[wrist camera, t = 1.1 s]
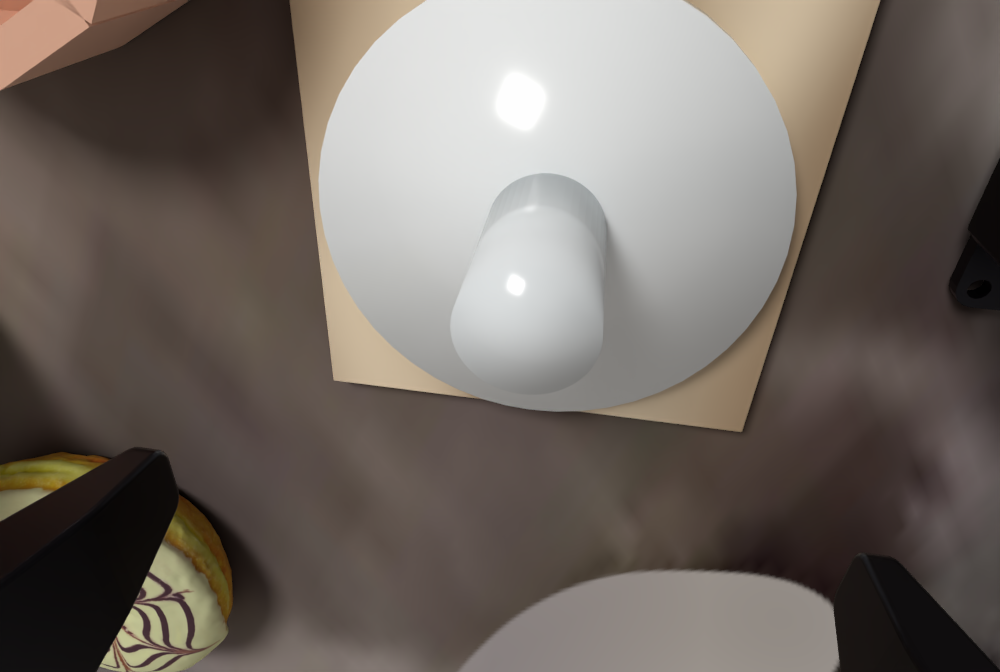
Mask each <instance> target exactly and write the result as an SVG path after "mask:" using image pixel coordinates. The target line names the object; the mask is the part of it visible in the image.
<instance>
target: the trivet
mask: <svg viewBox="0 0 1000 672" xmlns="http://www.w3.org/2000/svg"><path fill="white" fill-rule="evenodd" d="M289 1H290V9H291V18H292V26H293V35H294V44H295V52H296V61H297V69H298V78H299V86H300V95H301V104H302V112H303V121H304V129H305V138H306V146H307V155H308V164H309V172H310V181H311V189H312V198H313V206H314V215H315V223H316V232H317V241H318V249H319V258H320V266H321V275H322V283H323V292H324V301H325V309H326V318H327V326H328V335H329V343H330V352H331V361H332V369H333V378H334V380H336V381H344V382H351V383H359V384H367V385H375V386H383V387H391V388H399V389H407V390H414V391H422V392H430V393H438V394H446V395H454V396H462V397H470V398H477V399H481V398H479V397H476V396H473V395H471V394H468V393H466V392H463V391H461V390H458V389H456V388H454V387H452V386H450V385H448V384H446V383H444V382H442V381H440V380H438V379H436V378H434V377H433V376H431V375H430V374H428V373H427V372H425V371H424V370H422V369H421V368H419V367H418V366H416V365H414V364H413V363H412V362H410V361H409V360H408V359H407V358H405V357H404V356H403V355H402V354H401V353H399V352H398V351H397V350H396V349H394V348H393V347H392V346H391V345H390V344H389V343H388V342H387V341H386V340H385V339H384V338H383V337H382V336H381V335H380V334H379V333H378V332H377V331H376V330H375V329H374V328H373V326H372V325H371V324H370V322H369V321H368V320H367V319H366V317H365V316H364V315H363V314H362V312H361V311H360V310H359V309H358V307H357V305H356V304H355V302H354V301H353V299H352V297H351V296H350V294H349V292H348V291H347V289H346V288H345V286H344V284H343V282H342V280H341V278H340V275H339V273H338V271H337V269H336V267H335V265H334V262H333V260H332V257H331V254H330V250H329V247H328V244H327V241H326V238H325V234H324V229H323V223H322V218H321V212H320V203H319V181H318V179H319V168H320V157H321V149H322V145H323V141H324V137H325V133H326V128H327V124H328V121H329V118H330V116H331V113H332V111H333V108H334V106H335V103H336V101H337V98H338V96H339V94H340V92H341V90H342V88H343V87H344V85H345V83H346V81H347V80H348V78H349V76H350V74H351V73H352V71H353V69H354V67H355V66H356V65H357V64H358V62H359V61H360V60H361V59H362V57H363V56H364V55H365V54H366V52H367V51H368V50H369V49H370V47H371V46H372V45H373V43H374V42H375V41H376V40H377V39H378V38H379V37H381V36H382V35H383V34H384V33H385V32H386V31H387V30H388V29H389V28H390V27H391V26H392V25H393V24H394V23H396V22H397V21H398V20H399V19H400V18H401V17H403V16H404V15H406V14H407V13H408V12H410V11H411V10H413V9H414V8H416V7H417V6H419V5H420V4H422V3H423V2H424V1H426V0H289ZM687 1H689V2H690V3H692V4H693V5H695V6H696V7H698V8H699V9H701V10H702V11H704V12H705V13H706V14H707V15H708V16H709V17H711V18H712V19H713V20H714V21H715V22H716V23H717V24H718V25H719V26H721V27H722V28H723V29H724V30H725V31H726V32H727V33H728V34H729V35H730V36H731V37H732V38H733V39H734V41H735V42H736V43H737V44H738V45H739V47H740V48H741V49H742V50H743V52H744V53H745V54H746V55H747V57H748V58H749V59H750V60H751V61H752V63H753V64H754V66H755V67H756V69H757V70H758V72H759V74H760V76H761V77H762V79H763V81H764V82H765V84H766V86H767V87H768V89H769V91H770V93H771V94H772V96H773V98H774V99H775V101H776V104H777V107H778V109H779V112H780V114H781V117H782V119H783V122H784V124H785V127H786V129H787V132H788V136H789V141H790V145H791V150H792V154H793V159H794V163H795V177H796V191H797V198H796V210H795V223H794V229H793V233H792V237H791V242H790V246H789V250H788V255H787V257H786V260H785V262H784V265H783V268H782V270H781V273H780V275H779V278H778V280H777V283H776V284H775V286H774V288H773V290H772V292H771V293H770V295H769V297H768V299H767V301H766V302H765V304H764V306H763V308H762V309H761V310H760V312H759V313H758V314H757V316H756V317H755V318H754V320H753V321H752V322H751V324H750V325H749V326H748V328H747V329H746V330H745V331H744V332H743V333H742V334H741V335H740V336H739V337H738V338H737V339H736V341H735V342H734V343H733V344H732V345H731V346H730V347H729V348H728V349H727V350H726V351H724V352H723V353H722V354H721V355H719V356H718V357H717V358H716V359H714V360H713V361H712V362H711V363H710V364H708V365H707V366H706V367H704V368H703V369H701V370H699V371H698V372H696V373H695V374H693V375H692V376H690V377H688V378H687V379H685V380H684V381H682V382H680V383H678V384H676V385H674V386H671V387H669V388H667V389H665V390H663V391H661V392H659V393H656V394H653V395H651V396H648V397H645V398H642V399H639V400H637V401H634V402H629V403H625V404H621V405H617V406H613V407H608V408H601V409H593V410H585V411H580V412H588V413H596V414H604V415H611V416H619V417H627V418H635V419H643V420H651V421H659V422H667V423H674V424H682V425H690V426H698V427H706V428H714V429H722V430H730V431H737V432H742V430H743V427H744V424H745V420H746V417H747V414H748V411H749V408H750V405H751V402H752V399H753V396H754V392H755V389H756V386H757V383H758V380H759V377H760V374H761V371H762V368H763V364H764V361H765V358H766V355H767V352H768V349H769V346H770V343H771V339H772V336H773V333H774V330H775V327H776V324H777V321H778V318H779V315H780V311H781V308H782V305H783V302H784V299H785V296H786V293H787V290H788V287H789V283H790V280H791V277H792V274H793V271H794V268H795V265H796V262H797V258H798V255H799V252H800V249H801V246H802V243H803V240H804V237H805V234H806V230H807V227H808V224H809V221H810V218H811V215H812V212H813V209H814V205H815V202H816V199H817V196H818V193H819V190H820V187H821V184H822V181H823V177H824V174H825V171H826V168H827V165H828V162H829V159H830V156H831V153H832V149H833V146H834V143H835V140H836V137H837V134H838V131H839V128H840V124H841V121H842V118H843V115H844V112H845V109H846V106H847V103H848V100H849V96H850V93H851V90H852V87H853V84H854V81H855V78H856V75H857V71H858V68H859V65H860V62H861V59H862V56H863V53H864V50H865V47H866V43H867V40H868V37H869V34H870V31H871V28H872V25H873V22H874V19H875V15H876V12H877V9H878V6H879V3H880V0H687Z"/></svg>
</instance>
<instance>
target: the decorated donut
mask: <svg viewBox="0 0 1000 672" xmlns="http://www.w3.org/2000/svg"><path fill="white" fill-rule="evenodd" d="M108 460H110V459H108V458H105V457H101V456H97V455H89V456H84V455H79V454H78V455H77V454H70V453H67V452H59V453H52V454H49V455H46V456H42V457H37V458H31V459H26V460H20V461H16V462H9V463H6V464H3V465H0V521H2V520H3V519H5V518H7V517H9V516H11V515H12V514H14V513H16V512H18V511H19V510H21V509H23V508H25V507H27V506H28V505H30V504H32V503H34V502H35V501H37V500H39V499H41V498H43V497H44V496H46V495H48V494H50V493H51V492H53V491H55V490H57V489H59V488H60V487H62V486H64V485H66V484H67V483H69V482H71V481H73V480H75V479H76V478H78V477H80V476H82V475H83V474H85V473H87V472H89V471H91V470H92V469H94V468H96V467H98V466H100V465H101V464H103V463H105V462H107V461H108ZM231 572H232V571H231V568H230V565H229V562H228V559H227V555H226V553H225V551H224V549H223V547H222V544H221V540H220V537H219V536H218V535H217V533H216V532H215V530H214V529H213V527H212V525H211V523H210V522H209V521H208V520H207V518H206V517H205V515H203V514H202V513H201V512H200V511H199V510H198V509H197V508H196V507H195V506H194V505H192V504H191V502H189V501H188V500H186V499H185V498H184V497H182V496H180V495H179V503H178V507H177V510H176V512H175V514H174V517H173V519H172V521H171V523H170V526H169V528H168V530H167V532H166V535H165V537H164V539H163V541H162V544H161V546H160V548H159V550H158V552H157V555H156V557H155V559H154V561H153V564H152V566H151V568H150V570H149V573H148V575H147V577H146V579H145V581H144V584H143V586H142V588H141V590H140V593H139V595H138V597H137V599H136V601H135V603H134V605H133V607H132V609H131V611H130V613H129V615H128V617H127V619H126V621H125V623H124V624H123V626H122V628H121V630H120V632H119V633H118V635H117V637H116V639H115V640H114V642H113V644H112V645H111V647H110V649H109V651H108V652H107V654H106V656H105V658H104V659H103V661H102V663H101V665H100V666H99V667H103V668H107V669H110V670H114V671H120V672H178V671H182V670H185V669H187V668H190V667H192V666H193V665H194V664H196V663H197V662H199V661H200V660H201V659H203V658H204V657H205V656H207V655H208V654H209V653H210V652H211V651H212V650H213V649H214V648H216V647H217V646H218V645H219V644H220V643H221V642H222V641H223V640H224V639H225V637H226V636H227V634H228V631H229V629H228V627H227V619H228V617H229V615H230V612H231V609H232V605H233V593H232V592H233V588H232V576H231Z"/></svg>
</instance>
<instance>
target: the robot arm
mask: <svg viewBox="0 0 1000 672" xmlns="http://www.w3.org/2000/svg"><path fill="white" fill-rule="evenodd" d="M968 230H969V232H970V233H971V236H970V238H969V240H968V242H967V245H966V247H965V249H964V251H963V253H962V255H961V257H960V259H959V262H958V264H957V266H956V268H955V270H954V272H953V274H952V277H951V279H950V283H949V288H950V291H951V293H952V294H953V296H954V297H955V298H956V299H957V301H958V302H960V303H961V304H962V305H964V306H967V307H972V308H981V309H990V310H1000V159H999V161H998V163H997V165H996V168H995V170H994V172H993V174H992V176H991V178H990V181H989V183H988V185H987V187H986V189H985V191H984V194H983V196H982V198H981V200H980V202H979V204H978V206H977V209H976V211H975V213H974V215H973V217H972V219H971V222H970V224H969V226H968ZM977 280H984V282H983V284H982V285H981V286H980V287H978V288H976V289H974V290H967V289H968V287H969V286H970V285H971V284H972V283H974V282H976V281H977ZM178 503H179V491H178V487H177V484H176V481H175V478H174V474H173V471H172V468H171V465H170V462H169V458H168V456H167V455H166V454H165V453H164V452H163V451H161V450H156V449H149V448H142V447H134V448H131V449H128V450H126V451H124V452H123V453H121V454H119V455H117V456H116V457H114V458H112V459H110V460H108V461H107V462H105V463H103V464H101V465H100V466H98V467H96V468H94V469H92V470H91V471H89V472H87V473H85V474H83V475H82V476H80V477H78V478H76V479H75V480H73V481H71V482H69V483H67V484H66V485H64V486H62V487H60V488H59V489H57V490H55V491H53V492H51V493H50V494H48V495H46V496H44V497H43V498H41V499H39V500H37V501H35V502H34V503H32V504H30V505H28V506H27V507H25V508H23V509H21V510H19V511H18V512H16V513H14V514H12V515H11V516H9V517H7V518H5V519H3V520H2V521H0V672H97V670H98V668H99V666H100V665H101V663H102V661H103V659H104V658H105V656H106V654H107V652H108V651H109V649H110V647H111V645H112V644H113V642H114V640H115V639H116V637H117V635H118V633H119V632H120V630H121V628H122V626H123V624H124V623H125V621H126V619H127V617H128V615H129V613H130V611H131V609H132V607H133V605H134V603H135V601H136V599H137V597H138V595H139V593H140V590H141V588H142V586H143V584H144V581H145V579H146V577H147V575H148V573H149V570H150V568H151V566H152V564H153V561H154V559H155V557H156V555H157V552H158V550H159V548H160V546H161V544H162V541H163V539H164V537H165V535H166V532H167V530H168V528H169V526H170V523H171V521H172V519H173V517H174V514H175V512H176V510H177V507H178ZM834 617H835V626H836V634H837V643H838V652H839V660H840V669H841V672H1000V669H999V668H998V667H997V666H996V665H995V664H994V663H993V662H992V661H991V660H990V659H989V658H988V657H987V655H986V654H985V653H984V652H983V651H982V650H981V649H980V648H979V647H978V646H977V645H976V644H975V643H974V642H973V640H972V639H971V638H970V637H969V636H968V635H967V634H966V633H965V632H964V631H963V630H962V629H961V628H960V627H959V625H958V624H957V623H956V622H955V621H954V620H953V619H952V618H951V617H950V616H949V615H948V614H947V613H946V611H945V610H944V609H943V608H942V607H941V606H940V605H939V604H938V603H937V602H936V601H935V600H934V599H933V598H932V596H931V595H930V594H929V593H928V592H927V591H926V590H925V589H924V588H923V587H922V586H921V585H920V584H919V582H918V581H917V580H916V579H915V578H914V577H913V576H912V575H911V574H910V573H909V572H908V571H907V570H906V569H905V567H904V566H903V565H902V564H901V563H900V562H899V561H897V560H896V559H894V558H892V557H890V556H884V555H877V554H870V553H859V554H857V555H856V556H855V557H854V558H853V560H852V562H851V563H850V565H849V567H848V569H847V571H846V573H845V575H844V577H843V579H842V581H841V583H840V585H839V587H838V589H837V591H836V594H835V598H834Z"/></svg>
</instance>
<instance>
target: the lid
mask: <svg viewBox="0 0 1000 672" xmlns="http://www.w3.org/2000/svg"><path fill="white" fill-rule="evenodd" d="M318 181H319V203H320V212H321V218H322V223H323V229H324V234H325V238H326V241H327V244H328V247H329V250H330V254H331V257H332V260H333V262H334V265H335V267H336V269H337V271H338V273H339V275H340V278H341V280H342V282H343V284H344V286H345V288H346V289H347V291H348V292H349V294H350V296H351V297H352V299H353V301H354V302H355V304H356V305H357V307H358V309H359V310H360V311H361V312H362V314H363V315H364V316H365V317H366V319H367V320H368V321H369V322H370V324H371V325H372V326H373V328H374V329H375V330H376V331H377V332H378V333H379V334H380V335H381V336H382V337H383V338H384V339H385V340H386V341H387V342H388V343H389V344H390V345H391V346H392V347H393V348H394V349H396V350H397V351H398V352H399V353H401V354H402V355H403V356H404V357H405V358H407V359H408V360H409V361H410V362H412V363H413V364H414V365H416V366H418V367H419V368H421V369H422V370H424V371H425V372H427V373H428V374H430V375H431V376H433V377H434V378H436V379H438V380H440V381H442V382H444V383H446V384H448V385H450V386H452V387H454V388H456V389H458V390H461V391H463V392H466V393H468V394H471V395H473V396H476V397H479V398H481V399H485V400H488V401H492V402H496V403H499V404H503V405H507V406H512V407H518V408H524V409H530V410H542V411H555V412H560V411H585V410H593V409H601V408H608V407H613V406H617V405H621V404H625V403H629V402H634V401H637V400H639V399H642V398H645V397H648V396H651V395H653V394H656V393H659V392H661V391H663V390H665V389H667V388H669V387H671V386H674V385H676V384H678V383H680V382H682V381H684V380H685V379H687V378H688V377H690V376H692V375H693V374H695V373H696V372H698V371H699V370H701V369H703V368H704V367H706V366H707V365H708V364H710V363H711V362H712V361H713V360H714V359H716V358H717V357H718V356H719V355H721V354H722V353H723V352H724V351H726V350H727V349H728V348H729V347H730V346H731V345H732V344H733V343H734V342H735V341H736V339H737V338H738V337H739V336H740V335H741V334H742V333H743V332H744V331H745V330H746V329H747V328H748V326H749V325H750V324H751V322H752V321H753V320H754V318H755V317H756V316H757V314H758V313H759V312H760V310H761V309H762V308H763V306H764V304H765V302H766V301H767V299H768V297H769V295H770V293H771V292H772V290H773V288H774V286H775V284H776V283H777V280H778V278H779V275H780V273H781V270H782V268H783V265H784V262H785V260H786V257H787V255H788V250H789V246H790V242H791V237H792V233H793V229H794V223H795V210H796V198H797V191H796V177H795V163H794V159H793V154H792V150H791V145H790V141H789V136H788V132H787V129H786V127H785V124H784V122H783V119H782V117H781V114H780V112H779V109H778V107H777V104H776V101H775V99H774V98H773V96H772V94H771V93H770V91H769V89H768V87H767V86H766V84H765V82H764V81H763V79H762V77H761V76H760V74H759V72H758V70H757V69H756V67H755V66H754V64H753V63H752V61H751V60H750V59H749V58H748V57H747V55H746V54H745V53H744V52H743V50H742V49H741V48H740V47H739V45H738V44H737V43H736V42H735V41H734V39H733V38H732V37H731V36H730V35H729V34H728V33H727V32H726V31H725V30H724V29H723V28H722V27H721V26H719V25H718V24H717V23H716V22H715V21H714V20H713V19H712V18H711V17H709V16H708V15H707V14H706V13H705V12H704V11H702V10H701V9H699V8H698V7H696V6H695V5H693V4H692V3H690V2H689V1H687V0H426V1H424V2H423V3H422V4H420V5H419V6H417V7H416V8H414V9H413V10H411V11H410V12H408V13H407V14H406V15H404V16H403V17H401V18H400V19H399V20H398V21H397V22H396V23H394V24H393V25H392V26H391V27H390V28H389V29H388V30H387V31H386V32H385V33H384V34H383V35H382V36H381V37H379V38H378V39H377V40H376V41H375V42H374V43H373V45H372V46H371V47H370V49H369V50H368V51H367V52H366V54H365V55H364V56H363V57H362V59H361V60H360V61H359V62H358V64H357V65H356V66H355V67H354V69H353V71H352V73H351V74H350V76H349V78H348V80H347V81H346V83H345V85H344V87H343V88H342V90H341V92H340V94H339V96H338V98H337V101H336V103H335V106H334V108H333V111H332V113H331V116H330V118H329V121H328V124H327V128H326V133H325V137H324V141H323V145H322V149H321V157H320V168H319V179H318Z"/></svg>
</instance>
